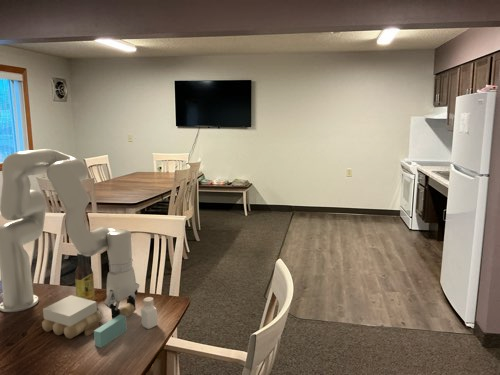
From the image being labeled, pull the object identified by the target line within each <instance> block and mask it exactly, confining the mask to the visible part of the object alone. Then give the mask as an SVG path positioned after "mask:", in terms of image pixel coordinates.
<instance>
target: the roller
mask: <svg viewBox="0 0 500 375" xmlns="http://www.w3.org/2000/svg"><path fill="white" fill-rule="evenodd" d="M135 308H136V306H135V307H134V305H133V304H132V303H127V302H126V304H124V305H123V306H121V307H118V309H119V310H120V315H124V316H126V318H127V317H129V316H130V315H131V314H134V313H135V311H136V310H135Z"/></svg>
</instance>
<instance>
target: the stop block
mask: <svg viewBox="0 0 500 375" xmlns="http://www.w3.org/2000/svg"><path fill="white" fill-rule="evenodd" d="M126 331H127V317H126V316H124V315H118V316H117V317H115V318H113V319H112V318H111V319H110V320H109V321H107V322H106V323H104V324H103V325H101V326H99V328H97V329H96V330H94V332H93V337H94V346H95V347H98V348H103V347H105V346H106V345H108V344H109V343H110V342H112V341H113V340H114V339H116V338H117V337H119V336H121V335H122V334H123V333H125V332H126Z"/></svg>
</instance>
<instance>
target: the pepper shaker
mask: <svg viewBox="0 0 500 375" xmlns="http://www.w3.org/2000/svg"><path fill="white" fill-rule="evenodd" d="M142 301H143V307H142V308H141V309H140V314H141V326H142V327H143V328H145V329H147V330H148V329H152V328H154V327H156V326H157V325H158V310H157V307H155V306H154V297H151V296H148V297H147V296H146V297H145V298H143V300H142Z"/></svg>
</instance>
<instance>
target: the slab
mask: <svg viewBox="0 0 500 375" xmlns="http://www.w3.org/2000/svg"><path fill="white" fill-rule="evenodd" d="M97 310H98V304H97V301H95V300H94V301H92V300H88V299H84V298H80V297H76V295H71V294H70V295H68V296H67V297H64V298H62V299H60V300H58V301H56V302H54V303H52V304H49V305H48V306H46V307H44V308H42V313H43V319H44V320H50V321H53V322H56V323H60V324H63V325H66V326H70V327H71V326H72V325H74V324H76V323H78V322H79V321H81V320H83V319H85V318H86V317H88V316H90V315H92V314H93V313H95V312H97Z"/></svg>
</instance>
